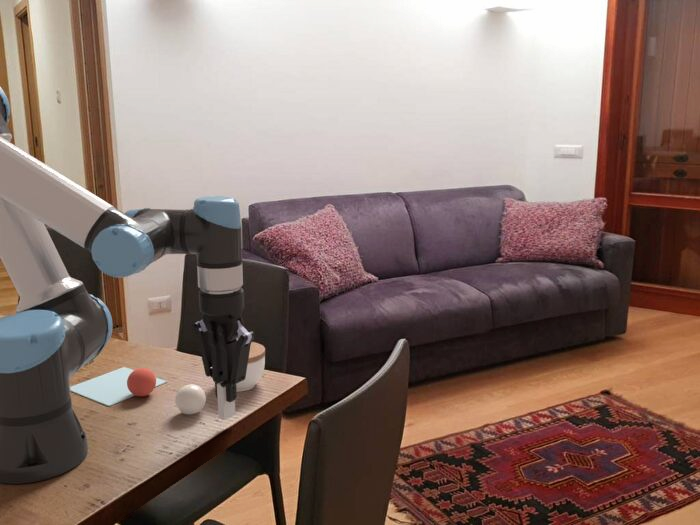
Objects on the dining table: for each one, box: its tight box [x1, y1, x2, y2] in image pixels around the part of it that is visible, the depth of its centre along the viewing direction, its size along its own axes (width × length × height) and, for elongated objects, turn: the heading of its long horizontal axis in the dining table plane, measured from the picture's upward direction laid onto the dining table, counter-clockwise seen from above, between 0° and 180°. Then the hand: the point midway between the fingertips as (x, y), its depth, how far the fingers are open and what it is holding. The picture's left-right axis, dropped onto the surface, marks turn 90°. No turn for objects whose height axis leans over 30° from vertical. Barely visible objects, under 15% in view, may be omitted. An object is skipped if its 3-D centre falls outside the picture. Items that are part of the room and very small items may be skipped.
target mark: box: [70, 366, 168, 407], centre depth 136 cm, size 14×14×1 cm
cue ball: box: [175, 383, 207, 415], centre depth 123 cm, size 6×6×6 cm
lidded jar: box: [236, 341, 266, 393], centre depth 135 cm, size 11×11×9 cm
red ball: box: [127, 367, 157, 397], centre depth 131 cm, size 6×6×6 cm
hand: (226, 416), depth 118 cm, fingers closed
